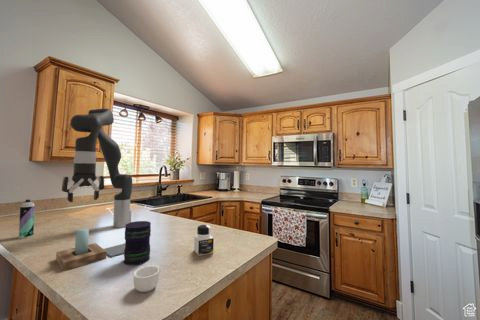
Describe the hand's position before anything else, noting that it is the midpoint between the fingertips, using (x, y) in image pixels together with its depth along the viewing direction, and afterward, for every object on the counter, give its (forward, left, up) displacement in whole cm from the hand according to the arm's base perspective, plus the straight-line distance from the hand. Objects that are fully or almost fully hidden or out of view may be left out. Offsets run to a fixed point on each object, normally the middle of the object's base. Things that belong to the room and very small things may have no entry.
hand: (83, 200), depth 89 cm
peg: (0, 0, -24) cm, 24 cm away
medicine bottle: (-39, +32, -24) cm, 56 cm away
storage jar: (-15, +18, -24) cm, 34 cm away
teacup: (-9, +40, -25) cm, 48 cm away
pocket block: (0, 0, -24) cm, 24 cm away
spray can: (+12, -53, -24) cm, 60 cm away
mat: (-14, +2, -24) cm, 28 cm away
